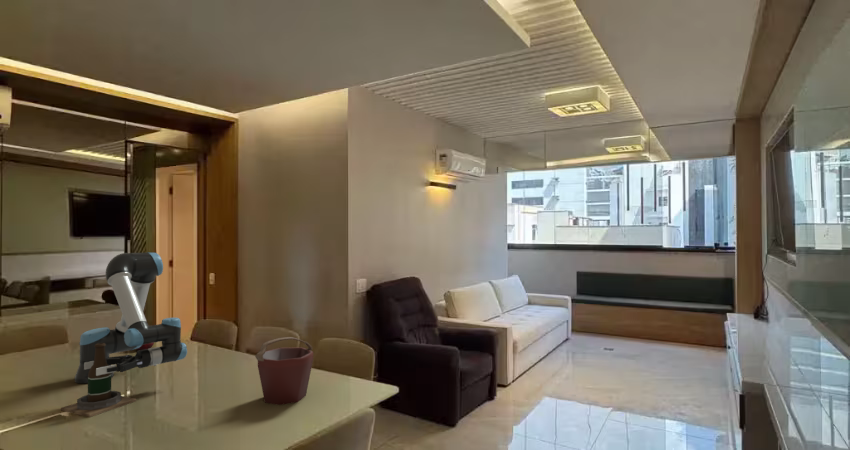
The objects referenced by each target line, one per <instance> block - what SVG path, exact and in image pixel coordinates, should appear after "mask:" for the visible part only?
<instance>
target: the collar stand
mask: <svg viewBox="0 0 850 450" xmlns="http://www.w3.org/2000/svg"><path fill="white" fill-rule="evenodd" d="M134 402H135V403H136V402H137V398H134V397H130V396H129V397H128V396H124V395H122V393H121V391H117V390H111V399H107V400H104V401H98V402H88V394H86V395H83V396H81V397H79V398H78V399H76V402H75V403H71V404H68V405H65V406H62V407H60V411H61V412H62V411H63V412H67V413H71V414H74V415H79V416H83V417H88V418H92V417H95V416H97V415H100V414H103V413H106V412H109V411H112V410H115V409H118V408H121V407H123V406H126V405H129V404H132V403H134Z"/></svg>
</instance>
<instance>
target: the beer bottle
mask: <svg viewBox="0 0 850 450" xmlns="http://www.w3.org/2000/svg"><path fill="white" fill-rule="evenodd" d="M105 346H106V344H105V343H97V344H95V346H94V347H95V357H94V364H93V366H92V367H91V368H90V370H89V373H88V383H87V395H88V402H98V401H104V400H107V399H111V391H112V378H111V373H107V374H102V375H98V376H96V368H101V367H106V366H109V365H108V364H107V363H106V356H105Z"/></svg>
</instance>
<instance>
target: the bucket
mask: <svg viewBox="0 0 850 450" xmlns="http://www.w3.org/2000/svg"><path fill="white" fill-rule="evenodd" d="M287 340H294V341H298V342H301V343H304V345H305V346H306V347H307V348H305V347H300V346H299V347H277V348H273V349H269V350H268V349H267V347H268V346H270V345H272V344H274V343H277V342H280V341H287ZM312 350H313V346H312V345H311V344H310V343H309V342H308V341H304V340H302V339H300V338H296V337H293V336H286V337H278V338H275V339H271V340H267V341H266V342H263V343H262V345H261V347H260V350H259V351H258V352H257V353H256V354H255V355H254V356H255V359H256V360H257V369H258V375H259V379H260V386H261V390H262V394H263V400H264V403H266V404H271V405H277V406H281V405H282V406H283V405H287V404H294V403H298V402H299V401H301V400H302V399H304V398H305V397H306V396H307V394H308V393H307V392H308V387H309V381H310V379H311V378H310V376H311V371H312V368H313V362H314V351H312Z"/></svg>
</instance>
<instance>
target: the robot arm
mask: <svg viewBox="0 0 850 450" xmlns="http://www.w3.org/2000/svg"><path fill="white" fill-rule="evenodd" d="M163 263H164V262H163V260H162V257H161V255H160V254H158V253H157V252H149V251H146V252H124V253H119V254H117V255H116V256H114V257H113V258H111V260H110V261H109V262H108V263H107V266H106V269H105V279H106V283H107V284H108V285H109V286H111V288H112V290H113V294H114V296H115V298H116V300H117V303H118V304H117V305H118V306H119V309H120V312H121V318H120V321H118V322H117V323H116V324H115V327H114V329H113V328H112V329H110V328H109V327H106V326H105V327H99V328H98V327H97V328H94V329H89V330H87V331H84V332H83V333H81V335H80V337H79V338H80V340H79V366H78V368H77V371H76V373H75V376H74V382H75V383H76V384H88V373H89V370H90V368H91V367H92V366H93V364H94V357H95V347H94V346H95V344H97V343H105V344H106V346H105V356H106V363H107V364H108V365H109V366H106V367H101V368H96V376H98V375H102V374H107V373H111V379H112V378H113V377H114V373H116V372H117V373H119V372H120V373H123V372H126V371H130V370H131V369H135V368H138V369H143V368H148V367H151V366H154V367H157V365H161V364H166V363H170V362H177V361H181V360H184V359H185V358H186V357H187V355H188V349H187V344H186V343H184V342H182V341H181V340H182V339H181V337H182V336H181V335H182V333H181V332H182V323H181V319H180V318H179V317H166V318H163V319H162V320H161V323H159V324H153V325H152V324H151V325H149V323H148V321H147V318H146V316H145V312H144V309H145V306H146V301H147V298H148V293H149V290H150V287H151V284H152V283H154V282H155V280H156V278H157V277H159V276H161V275H162V274H163V272H164V271H163V270H164V264H163ZM158 342H160V343H161V346H156V347H151V348H149V349H148V350H147V349H144V350H136V349H137V348H139V347H141V346H142V345H144V344H149V343H154V344H155V343H158ZM133 350H136V353H135V355H131V354H126V355H118V356H117V355H116V356H110V355H113V354H116V353H121V352H127V351H133Z"/></svg>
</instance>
